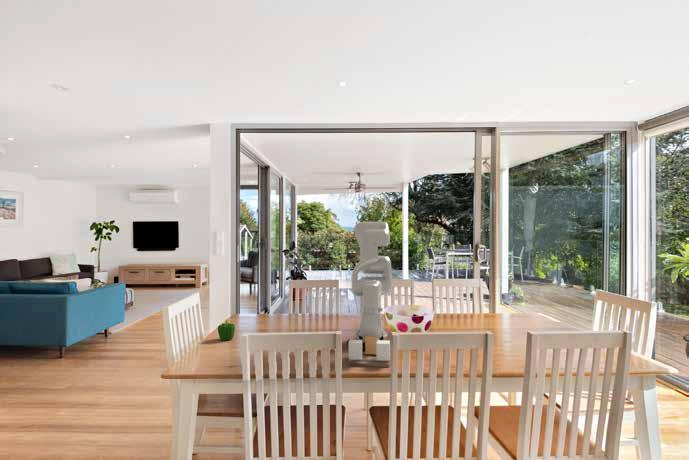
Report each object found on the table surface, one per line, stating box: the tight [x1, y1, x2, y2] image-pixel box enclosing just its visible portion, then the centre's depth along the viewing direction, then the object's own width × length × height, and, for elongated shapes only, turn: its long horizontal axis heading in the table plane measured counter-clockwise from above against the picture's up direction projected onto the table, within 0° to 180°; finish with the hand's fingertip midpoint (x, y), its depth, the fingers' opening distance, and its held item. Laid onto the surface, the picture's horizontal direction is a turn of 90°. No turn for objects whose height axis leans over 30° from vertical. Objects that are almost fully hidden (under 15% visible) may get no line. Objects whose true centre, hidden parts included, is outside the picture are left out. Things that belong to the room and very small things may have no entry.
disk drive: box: [346, 338, 365, 353], centre depth 201 cm, size 10×3×15 cm
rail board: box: [347, 339, 391, 368], centre depth 178 cm, size 10×17×9 cm, turn 82°
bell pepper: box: [217, 319, 236, 341], centre depth 218 cm, size 8×8×10 cm
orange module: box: [364, 336, 377, 356], centre depth 190 cm, size 5×5×8 cm
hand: (371, 350), depth 191 cm, fingers closed on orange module, 5 cm apart
